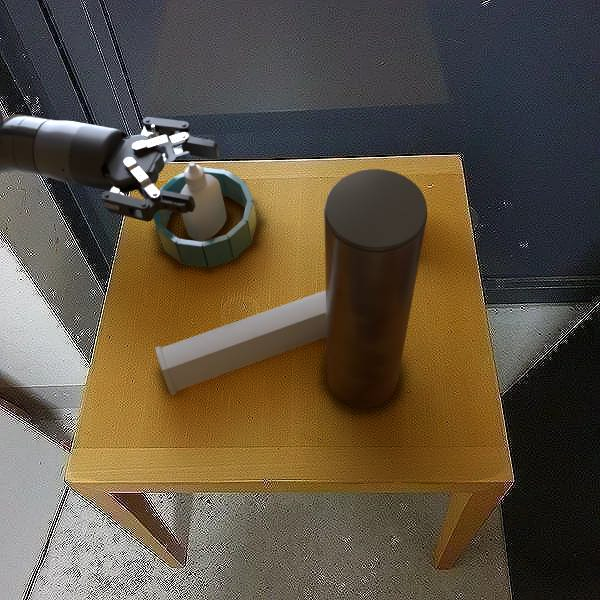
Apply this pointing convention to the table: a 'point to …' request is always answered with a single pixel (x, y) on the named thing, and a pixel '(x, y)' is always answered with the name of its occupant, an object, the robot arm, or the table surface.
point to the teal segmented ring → (217, 247)
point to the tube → (243, 342)
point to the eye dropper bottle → (203, 204)
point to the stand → (370, 281)
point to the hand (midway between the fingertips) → (206, 177)
